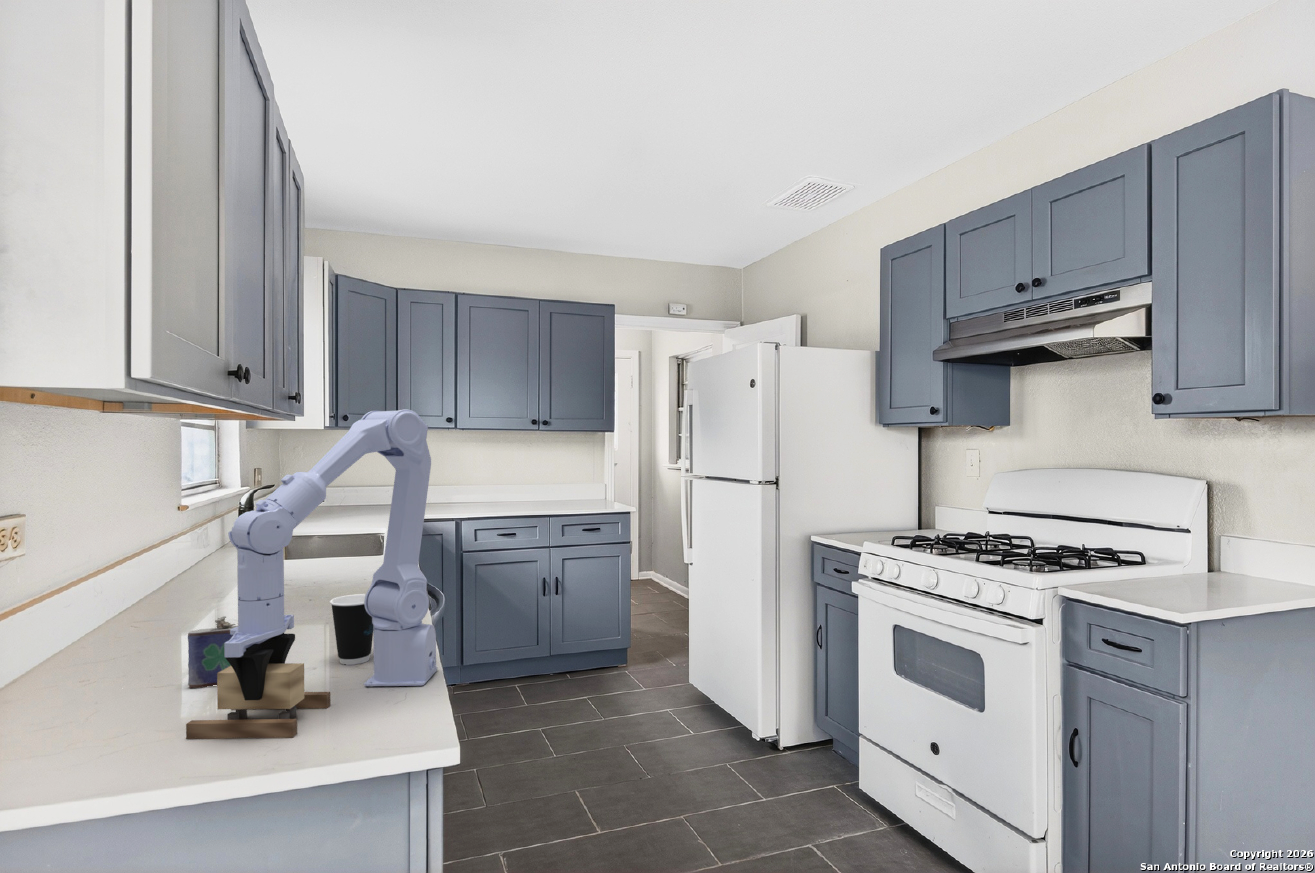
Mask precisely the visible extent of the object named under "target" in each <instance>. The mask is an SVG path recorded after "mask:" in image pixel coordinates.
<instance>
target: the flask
mask: <svg viewBox="0 0 1315 873" xmlns="http://www.w3.org/2000/svg"><path fill="white" fill-rule="evenodd" d="M226 618H227V616H226V615H224V616H220V617H217V619H214V623H216V624H215V625H216V627H211V628H201V629H196V630H195V629H194V630H191V631H189V632H188V633H187V641H188V648H187V649H188V660H187V661H188V663H187V665H188V666H187V667H188V673H187V674H188V681H187V682H188V683H187V684H188V689H191V688H192V689H202V688H208V687H207V686H213V685H217V673H218V672H220V671H222V670H224V669H226V668H228V667H229V666H231V665H230V663H229V662H228V661H227V660H226V657H225V649H224V643H226V642H227V641H229V640H230V639H231V638H232V636H233V635H231V634H230V630H231V629H233V628H235V627H238V625H236V624H237V623H236V624H235V623H231V622H229V621H226ZM213 687H214V686H213Z"/></svg>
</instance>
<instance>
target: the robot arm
mask: <svg viewBox="0 0 1315 873" xmlns="http://www.w3.org/2000/svg"><path fill="white" fill-rule="evenodd" d="M428 430H429V426H428V425H427V424H426V422H424V420H423V419H422V417H421V416H420V415H419V414H418V413H417V412H416V411H414V410H411V409H407V408H406V409H399V410H383V411H382V410H371V411H369V412H366V413H365V414H364V415H363V416H362V417H361V419H359V420H357V421H355V422H353V424H352V425H351V426H350V428H349V430H348V431H347V433H345V435H343V436H342V437H341V438H340V439H339V440H338V441H337V442H336V443H335V444H334V445H333V446H332V447H331V448H330V449H329V451H328V452H326V454H325V455H323V457H322V458H320V460H318V462H316V463H315V464H314V465H313V467H312V468H310V469H309V470H308V471H296V472H294V473H293V474H285V476H283V477H282V478H281V479H280V482H281V484H280V486H279V487H277V488H276V489H275V490H274V491H273V492H272V493H270V494H269V496H267V497H266V498H265V499H260V500H258V501H257V502H256V503H255V506H256V509H255V510H250V511H246V512H243V513H242V514H240V515H239V516H238V517H237V518H236V519H235V521H234V522H233V526H232V527H231V530H230V531H229V532H228V539H229V541H230V543H231V545H232V546H234V547H235V549H236V550H237V551H236V552H237V569H236V570H237V572H236V574H237V626H238V627H235V628H233V629H231V630H230V634H231V635H233V636H232V638H231V639H230V640H229V641H227V642H226V643H224V649H225V657H226V660H227V661H228V662H229V663H230V665H231V666H232V668H233V669H234V671H235V673H236V675H237V678H238V680H239V683H240V686H241V690H242V693H243V696H244V699H245V700H260V699H262V696H263V692H264V685H265V675H266V670H267V666H268V664H282V663H286V661H287V657H288V654H289V652H290V649H291V648H292V645H293V644H294V642H295V641H296V634H295V633H285V632H286V631H287V630H292V629H293V628H295V615H294V614H285V562H284V560H285V559H284V557H285V556H284V548H285V547H288V546H289V545H290V543H291V541H292V538H293V533H294V530H295V529H296V528H297V527H298V526H299V525H300V524H301V523H302V522H303V521H305V519H306V518H307V517H308V516H309V515H310V514H311V513H312V512H313V511H315V510H316V508H318V506H320V505H321V504H322V503H323V502H324V501H325V500H326V498H327V487H328V486H329V485H330V484H332V483H333V482H334V481H335V480H336V479H338V478H339V477H340V476H341V475H342V474H343V473H345V472H346V471H347V470H348V469H349V468H351V467H352V466H353V465H354V464H355V463H357V461H359V460H360V459H361V458H363V457H364V456H365V455H366V454H371V453H372V454H373V453H378V454H380V455H381V456H383V457H384V458H385V459H386V460H387V461H388V463H390V464H391V466H392V467H393V468H394V471H395V475H394V482H393V487H392V488H393V489H392V496H391V503H390V504H391V505H390V510H389V511H390V513H389V518H388V526H387V534H386V541H385V549H384V555H383V563H382V564H381V565H380V566H379V567H378V568H377V569H376V571H375V572H374V573H373V574H372V575H373V576H372V581H371V585H370V586H369V588H368V590H367V591H366V593H365V594H366V596H365V600H364V605H365V609H366V611H367V613H368V614H369V615H370V616H371V617H372V624H373V626H374V627H373V674H372V676H371V677H370V678H368V679H367V681H365V682H364V683H363V684H364V687H399V686H400V687H401V686H402V687H404V686H407V687H409V686H411V687H412V686H413V687H414V686H424V685H425V684H426V683H427V682H428V681H429V680H430V679H431V677H432V676H433V675H435V673H436V672H437V671H438V667H437V634H436V633H437V632H436V628H435V626H434V624H427V623H423V620H424V618H426V616H427V614H428V610H429V608H430V598H429V594H428V591H427V587H428V586H427V585H428V579H427V578H426V576H425V575H424V572H422V570H421V569H420V567H419V561H420V552H421V546H422V539H423V538H422V537H423V531H424V530H423V529H424V522H425V517H426V516H425V515H426V507H427V500H428V491H429V485H430V484H429V483H430V476H431V468H432V467H431V466H432V457H431V453H430V449H429V446H428V441H427V438H428Z"/></svg>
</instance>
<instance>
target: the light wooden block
mask: <svg viewBox="0 0 1315 873" xmlns="http://www.w3.org/2000/svg"><path fill="white" fill-rule="evenodd" d="M216 687H217V689H216V690H217V692H216V693H217V694H216V695H217V710H231V709H233V710H236V709H247V710H286V709H291V708H292V707H293V706H295V705H296V704H297V703H299V702H300V701H301V700H303V699H304V692H305V662H304V663H303V662H301V663H300V662H299V663H298V662H297V663H296V662H295V663H293V662H292V663H290V662H289V663H286V662H285V663H282V664H268V666H267V670H266V675H265V685H264V692H263V696H262V699H260V700H245V699H244V696H243V693H242V690H241V686H240V683H239V680H238V678H237V675H236V673H235V671H234V669H233V668H232V666H229V667H228V668H226V669H224V670H222V671H220V672H218V673H217V686H216Z"/></svg>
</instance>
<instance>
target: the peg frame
mask: <svg viewBox="0 0 1315 873" xmlns="http://www.w3.org/2000/svg"><path fill="white" fill-rule="evenodd" d="M330 706H331V691H304V699H303V700H301V701H300V702H299V703H297V704H296V705H295V706H293V707H292V708H291V709H285V710H283V711H280V712H278V714H277V716H278V719H276V718H273V719H272V718H269V719H267V718H266V719H264V718H262V719H261V718H260V719H259V718H258V719H255V718H253V719H247V718H248V709H235V711H232V710H234V709H230V710H231V711H232V712H229V713H227V716H226V718H227V719H202V720H201V719H195V720H193V719H192V720H190V721H188V722H187V723H185V739H186V740H204V739H205V740H206V739H207V740H209V739H211V740H212V739H215V740H216V739H219V740H220V739H221V740H222V739H279V738H281V739H282V738H285V739H288V738H294V737H295V736H297V735H298V718H297V712H298V711H297V710H298V709H300V710H301V709H302V710H303V709H306V710H307V709H328V708H329V707H330Z"/></svg>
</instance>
